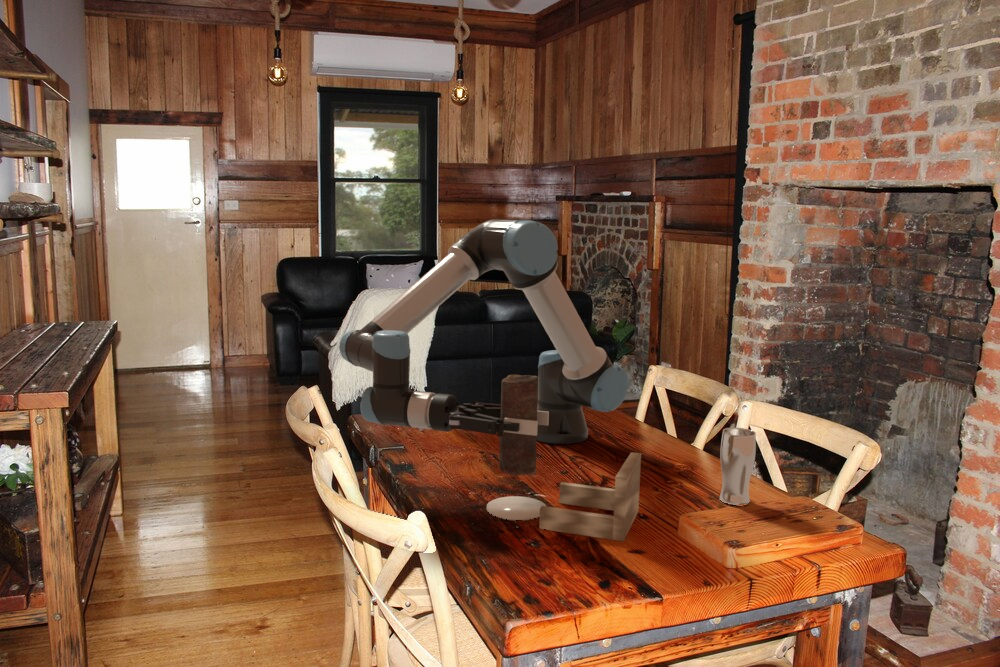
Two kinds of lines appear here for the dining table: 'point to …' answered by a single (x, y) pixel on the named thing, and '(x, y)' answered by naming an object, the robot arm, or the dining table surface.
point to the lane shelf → (598, 505)
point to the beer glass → (737, 464)
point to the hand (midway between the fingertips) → (542, 423)
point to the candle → (519, 405)
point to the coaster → (515, 508)
